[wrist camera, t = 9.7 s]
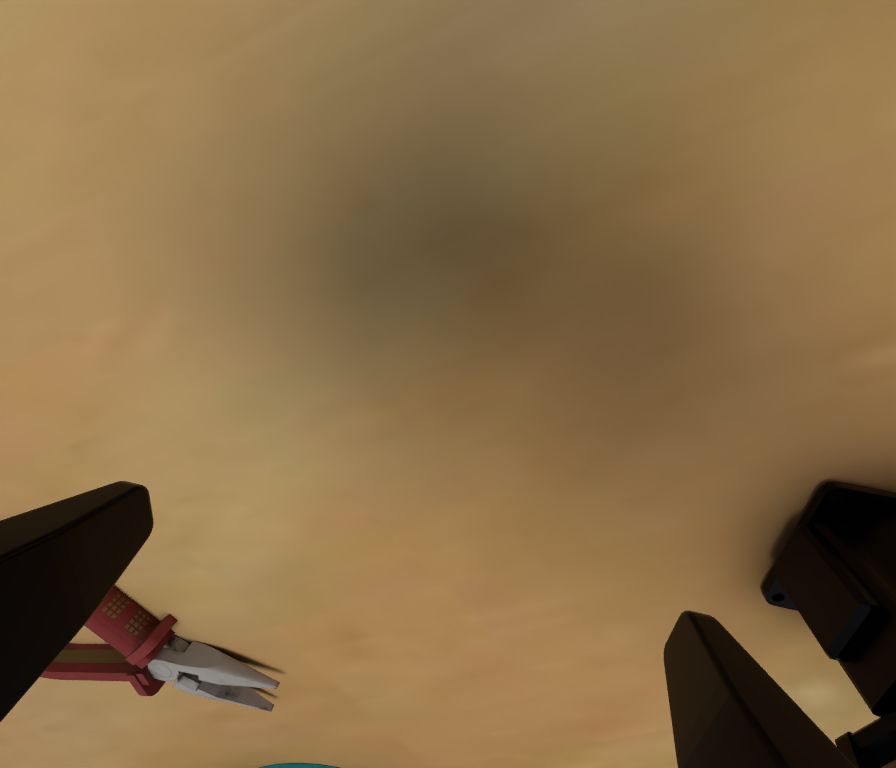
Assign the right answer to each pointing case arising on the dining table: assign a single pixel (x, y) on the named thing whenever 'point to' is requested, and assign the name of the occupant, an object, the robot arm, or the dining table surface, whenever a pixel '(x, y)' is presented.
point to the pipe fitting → (298, 766)
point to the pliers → (156, 658)
